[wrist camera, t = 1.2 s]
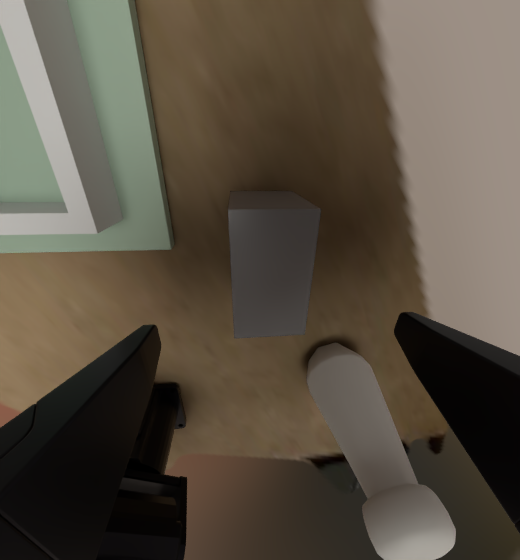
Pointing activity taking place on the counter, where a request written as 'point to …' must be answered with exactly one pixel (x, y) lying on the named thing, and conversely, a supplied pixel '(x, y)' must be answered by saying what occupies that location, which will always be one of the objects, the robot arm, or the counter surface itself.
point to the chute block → (271, 261)
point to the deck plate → (77, 131)
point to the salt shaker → (378, 458)
